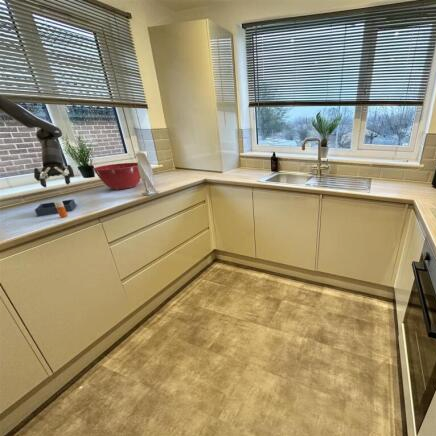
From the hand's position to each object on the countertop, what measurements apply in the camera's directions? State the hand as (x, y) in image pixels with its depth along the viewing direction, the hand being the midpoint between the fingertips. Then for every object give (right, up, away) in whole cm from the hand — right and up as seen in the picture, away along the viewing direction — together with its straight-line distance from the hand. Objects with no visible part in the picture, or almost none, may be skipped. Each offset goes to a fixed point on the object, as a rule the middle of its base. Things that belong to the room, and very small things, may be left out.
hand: (56, 185), depth 117 cm
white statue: (+25, -1, +36) cm, 44 cm away
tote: (-6, -13, +8) cm, 16 cm away
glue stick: (+5, -16, -1) cm, 17 cm away
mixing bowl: (-4, +6, +54) cm, 54 cm away
